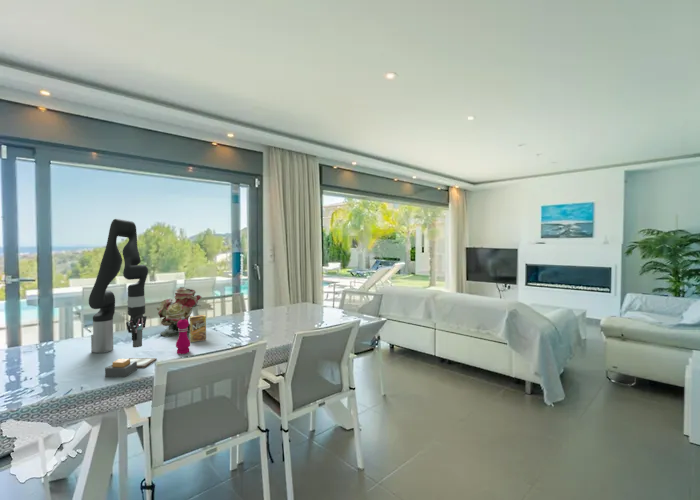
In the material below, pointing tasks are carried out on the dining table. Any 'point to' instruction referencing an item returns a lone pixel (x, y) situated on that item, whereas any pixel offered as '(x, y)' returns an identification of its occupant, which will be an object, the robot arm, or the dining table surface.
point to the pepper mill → (183, 336)
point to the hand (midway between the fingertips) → (137, 338)
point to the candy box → (197, 328)
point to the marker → (138, 337)
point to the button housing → (121, 370)
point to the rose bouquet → (177, 310)
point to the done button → (121, 363)
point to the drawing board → (143, 361)
